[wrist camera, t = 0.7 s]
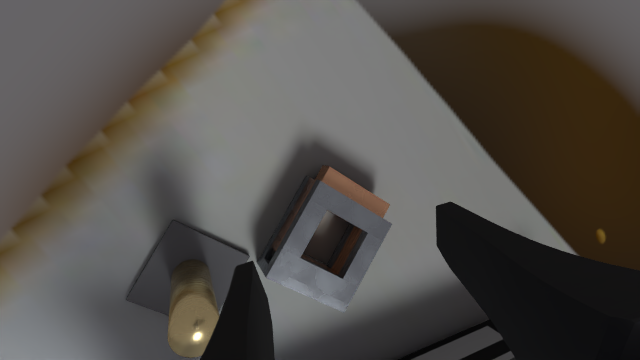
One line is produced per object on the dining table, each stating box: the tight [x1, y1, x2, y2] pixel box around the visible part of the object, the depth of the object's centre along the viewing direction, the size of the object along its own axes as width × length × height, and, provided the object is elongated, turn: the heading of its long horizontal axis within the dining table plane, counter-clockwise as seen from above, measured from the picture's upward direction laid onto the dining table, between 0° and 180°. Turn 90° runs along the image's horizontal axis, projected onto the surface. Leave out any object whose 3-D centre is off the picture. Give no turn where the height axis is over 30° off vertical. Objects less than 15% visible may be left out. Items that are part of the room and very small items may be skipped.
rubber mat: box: [126, 220, 250, 315], centre depth 30 cm, size 7×7×1 cm
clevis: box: [257, 165, 392, 312], centre depth 32 cm, size 10×8×4 cm
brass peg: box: [168, 259, 219, 358], centre depth 25 cm, size 3×3×9 cm
